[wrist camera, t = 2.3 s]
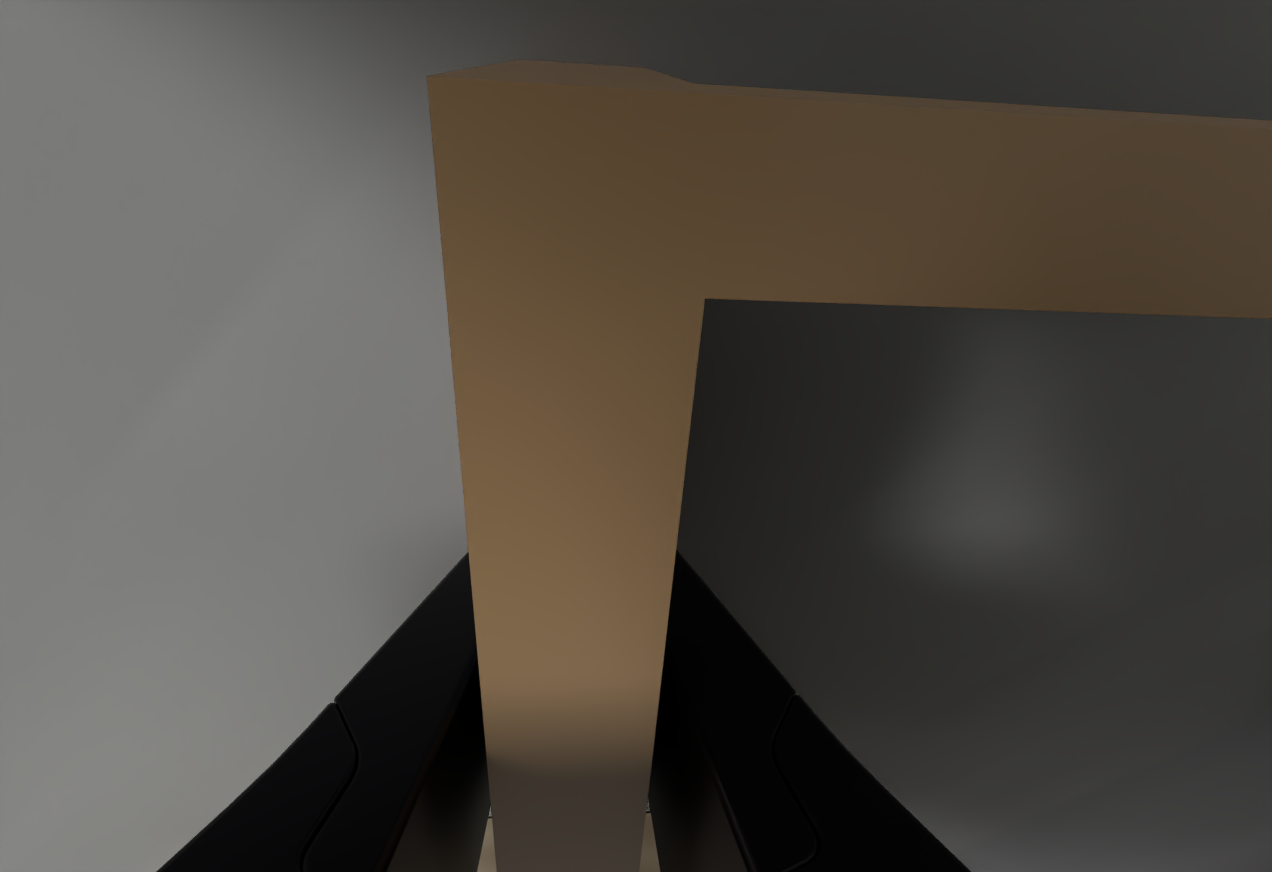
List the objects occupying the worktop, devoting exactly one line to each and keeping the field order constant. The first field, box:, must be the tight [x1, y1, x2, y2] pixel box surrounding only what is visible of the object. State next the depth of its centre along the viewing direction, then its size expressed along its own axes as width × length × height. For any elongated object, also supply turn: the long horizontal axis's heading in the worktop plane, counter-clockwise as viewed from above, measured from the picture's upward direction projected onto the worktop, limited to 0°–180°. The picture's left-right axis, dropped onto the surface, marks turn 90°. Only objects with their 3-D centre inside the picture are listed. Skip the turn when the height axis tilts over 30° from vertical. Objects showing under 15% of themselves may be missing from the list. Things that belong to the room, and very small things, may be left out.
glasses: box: [427, 60, 1272, 872], centre depth 9 cm, size 10×12×5 cm
